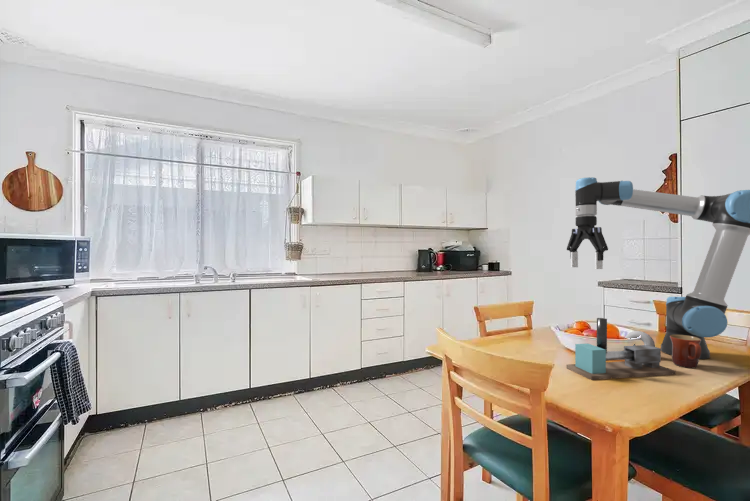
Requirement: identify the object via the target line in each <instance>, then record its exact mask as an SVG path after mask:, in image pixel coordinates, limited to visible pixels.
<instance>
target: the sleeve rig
mask: <svg viewBox="0 0 750 501" xmlns="http://www.w3.org/2000/svg"><path fill="white" fill-rule="evenodd" d="M626 350H633V351H634V359H627V360H620V361H610V362H609V361H606V373H598V374H592V373H589V372H587V371H585V370H583V369H581V368H578V367H576V366H575V363H573V364H566V365H565V366H566V367H565V368H566V369H567V370H570V371H572V372H574V373H576V374H578V375H580V376H583V377H584V378H586V379H588V380H590V379H591V381H596V380H597V379H598V380H612V379H613V378H614V379H626V378H628V379H629V378H642V377H643V378H644V377H654V376H655V377H657V376H673V375H676V374H677V373H676V370H674V369H672V368H671V369H670V368H668V367H665V366H663V365H660V363H661V361H662V360H661V359H662V358H661V353H662V351H661V347H657V346H655V347H654V346H650V345H644V344H638V345H636V346H625V345H624V346H623V351H626ZM611 378H612V379H611Z"/></svg>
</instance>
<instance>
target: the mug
mask: <svg viewBox="0 0 750 501" xmlns="http://www.w3.org/2000/svg"><path fill="white" fill-rule="evenodd" d="M670 338H671V341H672V355H671V358H672V359H671V360H672V362H673V364H674V365H675V366H678V367H682V368H687V369H694V368H697V367H698V366H699V362H700V359H699V358H700V356H701V346H700V345H699V344H700V342H701V339H700V338H697V337H693V336H687V335H670Z"/></svg>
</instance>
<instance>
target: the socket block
mask: <svg viewBox="0 0 750 501" xmlns="http://www.w3.org/2000/svg"><path fill="white" fill-rule="evenodd" d="M574 347H575V357H574V358H575V362H574V364H575V366H576V367H578V368H581V369H583V370H585V371H587V372H589V373H592V374H598V373H606V362H607V361H606V350H605V349H602V348H600V347H597V345H595V344H590V343H575V346H574Z"/></svg>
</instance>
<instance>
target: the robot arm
mask: <svg viewBox="0 0 750 501" xmlns="http://www.w3.org/2000/svg"><path fill="white" fill-rule="evenodd" d="M597 180H598V179H597V178H596V177H582V178H579V179H577V180H576V181H575V191H574V192H575V196H574V197H575V216H577V217H575V226H576V227H577V228H572V229H571V233H570V234H571V235H570V237H569V241H568V243H567V246H566V251H569V253H570V256H569V257H570V258H569V259H570V268H579V262H578V261H579V251H578V249H579V247H580V246H581V244H582V243H583V241H585V240H588V241H590V243H591V245H592V246H593V248H594V250H595V252H594V269H595V270H603V269H604V268H603V265H604V264H603V261H604V253H605V252H606V251H608V250H609V247H608V245H607V243H606V240H605V237H604V234H603V230H602V227H601V226H597V224H598V217H597V215H598V212H597V211H598V208H597V207H598V206H597V202H598V203H600V204H601V205H603V206H610V205H612V206H618V207H626V208H632V209H633V208H634V209H641V210H646V211H647V210H648V211H653V212H661V213H668V214H673V215H674V214H675V215H681V216H688V217H691V218H692V219H693V220H699V221H703V222H707V223H712V226H713V227H714V229H715V232H714V234H713V238H712V240H711V243H710V246H709V249H708V251H707V254H706V256H705V260H704V261H703V265H702V267H701V270H700V273H699V276H698V278H697V281H696V283H695V286H694V290H693V291H692V292H690V293H689V292H688V294H686V295H685V296H668V297H667V298H666V302H665V307H666V308H665V310H666V312H665V313H666V314H665V316H666V318H665V320H666V322H665V323H666V324H665V326H666V328H665V330H666V331H665V335H664V336H663V337H664V338H663V340H662V343H661V344H660V348H661V353H664V354H667V355H670V356H672V341H671V338H670V335H687V336H693V337H697V338H700V339H701V342H700V344H699V345H700V346H701V356H700V358H699V360H705V359H709V358H710V357H711V352H710V350H709V347H708V345H707V344H708V343H707V342H706V339H705V338H713V337H717V336H719V335H721V334H722V333H723V332H725V331H726V329H727V327H728V318H727V316H726V311H727V309H728V306H729V305H728V304H727V302H726V301H725V297H726V295H727V292H728V290H729V287H730V285H731V281H732V279H733V277H734V274H735V271H736V269H737V266H738V263H739V261H740V258H741V256H742V253H743V251H744V247H745V245H746V242H747V239H748V238H749V236H750V189H743V190H742V189H741V190H737V191H733V192H731V193H728V194H722V195H699V196H689V195H682V194H681V195H680V194H673V193H664V192H657V191H649V190H642V189H641V190H640V189H636V188H635V189H634V185H633V182H632V181H631V180H617V181H616V180H615V181H603V182H600V181H597Z"/></svg>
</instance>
